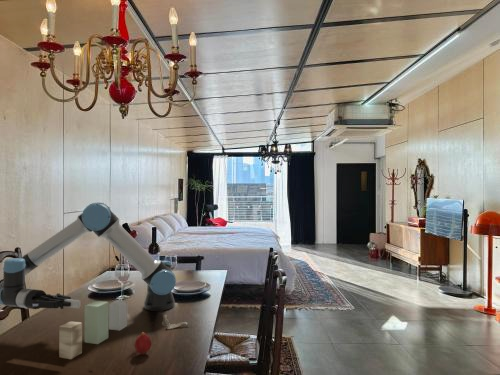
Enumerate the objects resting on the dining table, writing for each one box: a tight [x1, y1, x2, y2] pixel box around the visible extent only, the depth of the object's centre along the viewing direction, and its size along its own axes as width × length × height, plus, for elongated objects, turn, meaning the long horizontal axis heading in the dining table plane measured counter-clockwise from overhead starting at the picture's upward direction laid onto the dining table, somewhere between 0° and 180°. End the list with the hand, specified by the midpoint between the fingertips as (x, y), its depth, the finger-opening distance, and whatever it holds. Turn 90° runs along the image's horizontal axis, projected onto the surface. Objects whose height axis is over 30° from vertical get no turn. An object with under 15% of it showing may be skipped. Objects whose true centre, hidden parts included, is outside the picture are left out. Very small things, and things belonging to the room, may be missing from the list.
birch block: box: [58, 320, 83, 360], centre depth 123 cm, size 5×5×12 cm
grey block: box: [108, 299, 128, 331], centre depth 149 cm, size 5×5×12 cm
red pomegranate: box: [134, 331, 152, 356], centre depth 127 cm, size 6×6×8 cm
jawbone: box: [161, 314, 189, 331], centre depth 157 cm, size 9×20×2 cm, turn 45°
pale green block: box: [84, 300, 109, 345], centre depth 136 cm, size 6×6×14 cm
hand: (79, 304), depth 138 cm, fingers closed
